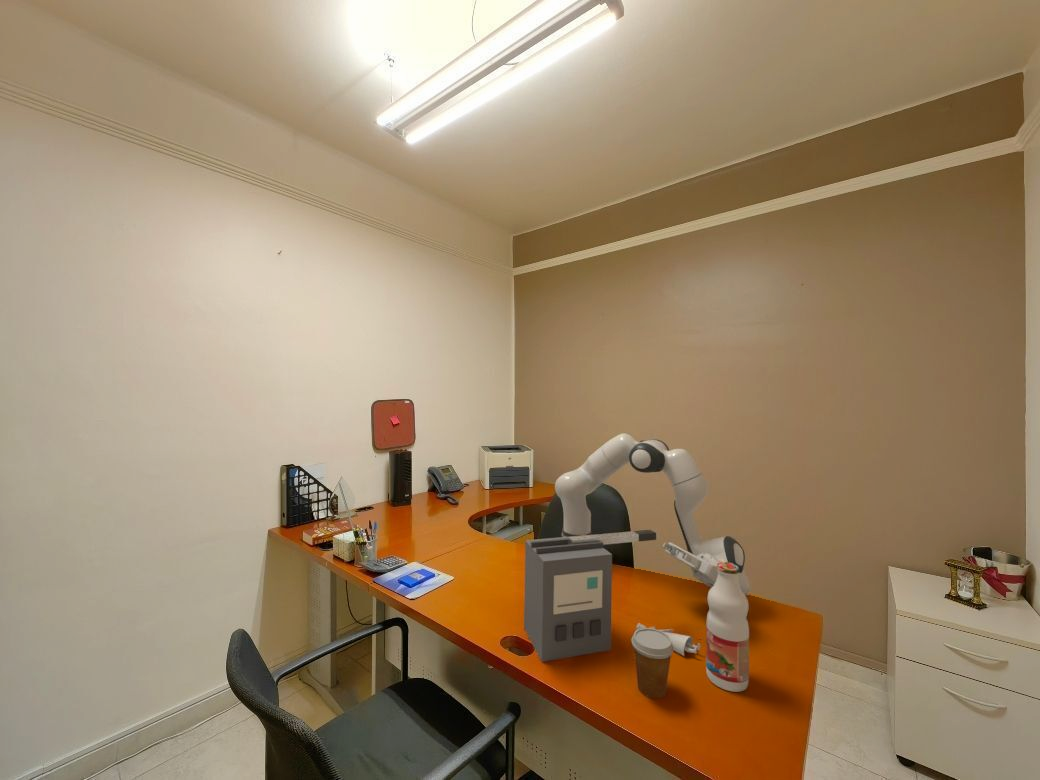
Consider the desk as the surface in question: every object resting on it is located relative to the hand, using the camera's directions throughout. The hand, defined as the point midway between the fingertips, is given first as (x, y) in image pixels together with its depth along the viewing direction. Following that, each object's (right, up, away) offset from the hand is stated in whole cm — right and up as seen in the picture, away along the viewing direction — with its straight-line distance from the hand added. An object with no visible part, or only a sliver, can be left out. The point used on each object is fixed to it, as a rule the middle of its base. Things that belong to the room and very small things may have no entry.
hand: (674, 550), depth 127 cm
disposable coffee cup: (-17, -21, -30) cm, 40 cm away
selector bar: (-20, +5, -6) cm, 21 cm away
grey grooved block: (-35, -21, -10) cm, 42 cm away
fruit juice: (+3, -22, -26) cm, 34 cm away
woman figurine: (-7, -22, -11) cm, 26 cm away
